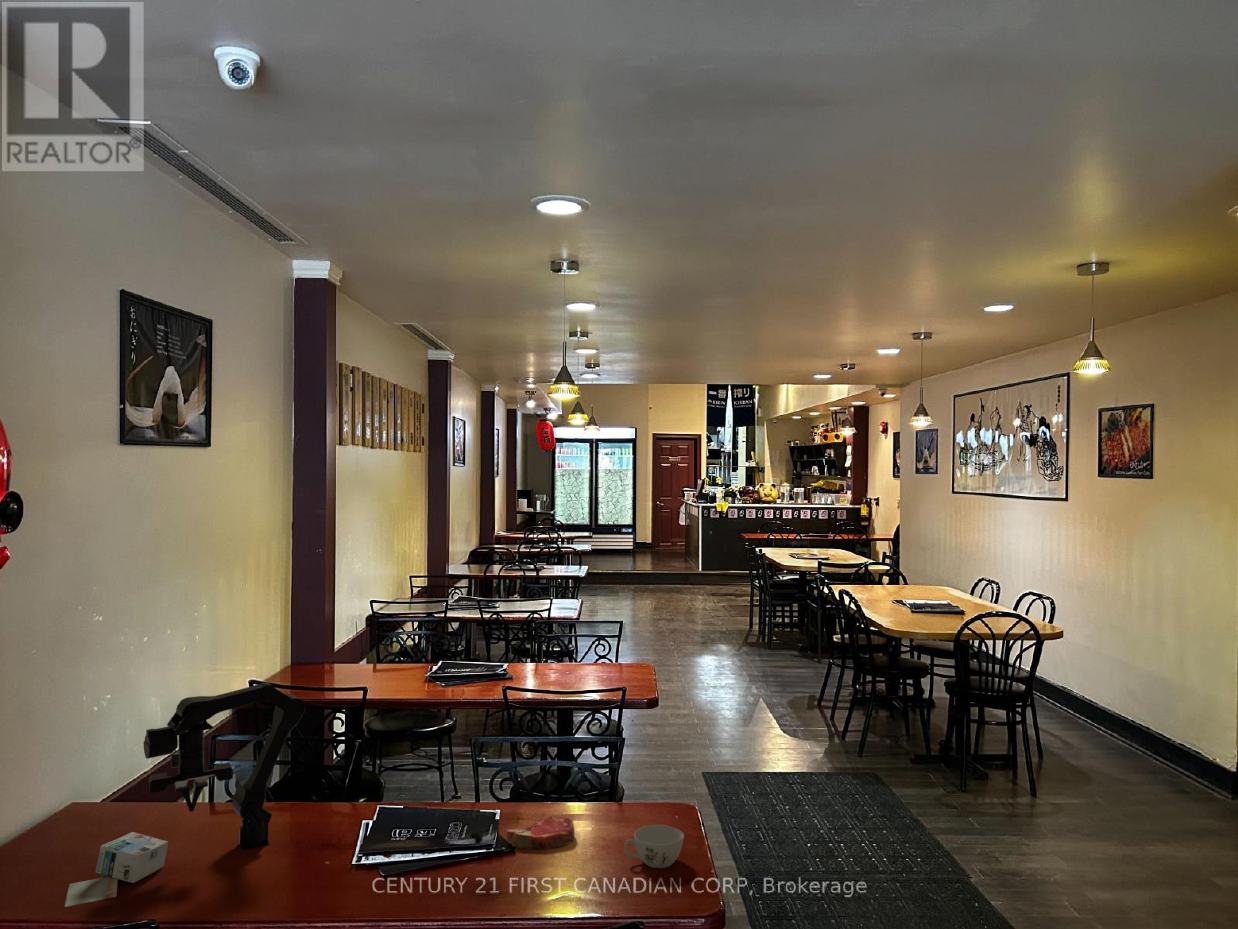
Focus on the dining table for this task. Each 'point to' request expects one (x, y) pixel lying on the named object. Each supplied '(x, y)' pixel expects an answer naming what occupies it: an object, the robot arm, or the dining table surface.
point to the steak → (543, 834)
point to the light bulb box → (131, 857)
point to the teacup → (656, 845)
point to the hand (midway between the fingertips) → (191, 811)
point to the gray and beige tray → (91, 891)
